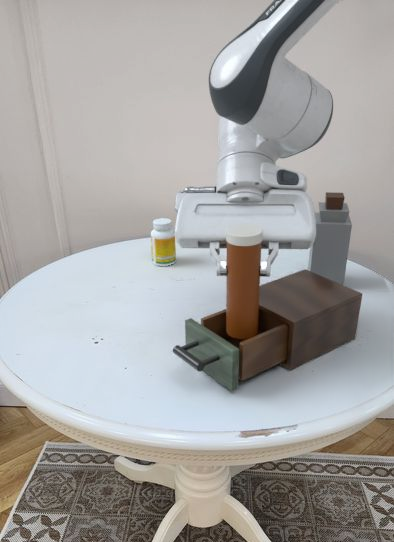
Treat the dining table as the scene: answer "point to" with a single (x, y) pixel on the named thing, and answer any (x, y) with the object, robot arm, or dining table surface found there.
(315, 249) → the perfume bottle
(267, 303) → the cabinet
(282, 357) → the drawer
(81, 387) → the dining table surface
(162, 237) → the supplement bottle
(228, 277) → the pill bottle
